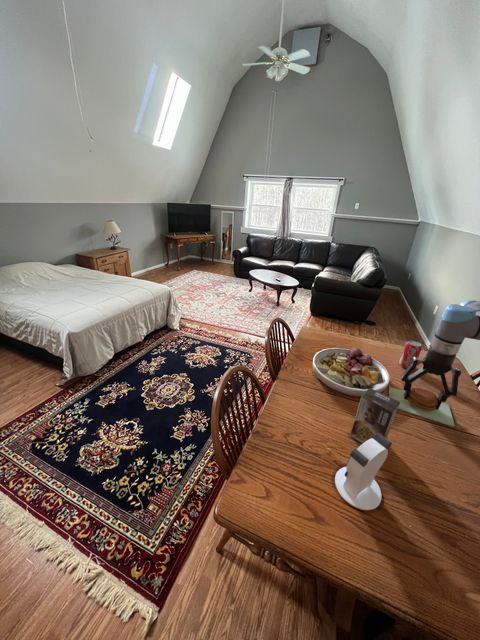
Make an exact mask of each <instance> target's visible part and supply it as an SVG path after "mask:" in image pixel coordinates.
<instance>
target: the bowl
mask: <svg viewBox="0 0 480 640" xmlns="http://www.w3.org/2000/svg"><path fill="white" fill-rule="evenodd" d="M312 359H313V360H312V369H313V372H314V373H315V375H316V377H317V378H318V379H319V380H320V381H321V382H322V383H323V384H324V385H325V386H327V387H328V388H330V389H332V390H334V391H336V392H338V393H341V394H344V395H347V396H351V397H360V398H361V396H362V395H363V394H364V393H365V392H366V391H367V390H368V389H369V388H372V389H374V390H376V391H378V392H380V393H383V392H384V391H385V390H386V389H387V388H388V386H389V383H390V380H391V377H390V376H391V375H390V373H389V371H388V369H387V368H386V367H385V365H383V364H382V363H381V362H380V361H378V360H376V359H375V358H373V357H372V356H371V355H369V354H365V353H363V351H362V350H361V349H360V348H358V347H357V348H356V347H354V348H351V349H348V348H340V347H331V348H324V349H321V350H319V351H318V352H316V353H315V355H314V356H313V358H312Z"/></svg>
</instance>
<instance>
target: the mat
mask: <svg viewBox="0 0 480 640" xmlns="http://www.w3.org/2000/svg"><path fill="white" fill-rule="evenodd" d="M404 392H405V390H402V389H398V388H395V387H391V386H389V387H388V396H389V397H391V398H393V399H395V400H397V401H399V402H400V404H399V407H398V409H397V410H400V411H403V412H406V413H409V414H412V415H415V416H417V417H421V418H423V419H427V420H430V421H433V422H436V423H439V424H443V425H445V426H448V427H451V428H455V427H456V425H455V421H454V417H453V415H452V411H451V407H450V405H449V404H448V403H446V402H442V403H441V405H440V407H439V409H438V410H437V409H436V408H435V410H433V411H427V410H423V409H420V408H419V407H415V406H413V405H411V404H410V403H409V402H408V401H407V399H406V400H405V399H404Z"/></svg>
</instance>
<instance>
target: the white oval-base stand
mask: <svg viewBox="0 0 480 640" xmlns="http://www.w3.org/2000/svg"><path fill="white" fill-rule="evenodd" d="M392 444H393V442H391V440H389V439H388V438H387V439H386V438H385V437H383V436H382V435H381V434H379V433H377V434H376V435H375V436H374V438H372V439H369V440H367V441H366V442H364V443H361V444H360V445H359V446H358V447H357V448H353V449H352V450H351V452H350V454H349V456H350V457H349V458H348V460H347V463H346V464H347V465H346V466H343V467H341V468H340V469H338V470H337V471H336V473H335V477H334V484H335V488H336V491H337V492H338V494H339V495H340V497H341V499H343V500H344V502H346V503H348V504H349V505H350V506H352V507H354V508H356V509H359V510H362V511H372V510H375V509H376V508H378V507H379V506H380V504H381V503H382V502H381V501H382V490H381V488H380V486H379V484H378V482H377V481H376V480H375V478H376V475H377V473H378V471H379V470H381V468H382V467H383V465H384V463H385V462H386V460H387V458H388V454H389V449H390V448H391V447H392Z"/></svg>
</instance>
